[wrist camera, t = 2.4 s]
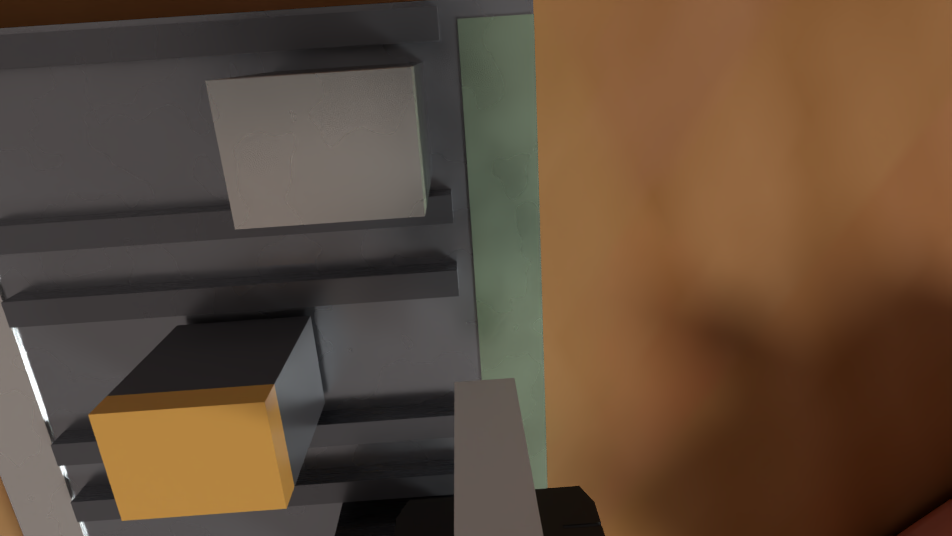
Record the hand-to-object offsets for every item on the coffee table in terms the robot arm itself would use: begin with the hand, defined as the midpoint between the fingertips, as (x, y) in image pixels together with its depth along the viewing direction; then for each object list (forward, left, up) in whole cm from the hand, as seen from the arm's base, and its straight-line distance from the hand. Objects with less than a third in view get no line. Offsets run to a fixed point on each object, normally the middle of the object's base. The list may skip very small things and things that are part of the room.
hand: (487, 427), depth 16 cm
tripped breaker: (0, -7, -4) cm, 8 cm away
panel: (0, -7, -6) cm, 9 cm away
